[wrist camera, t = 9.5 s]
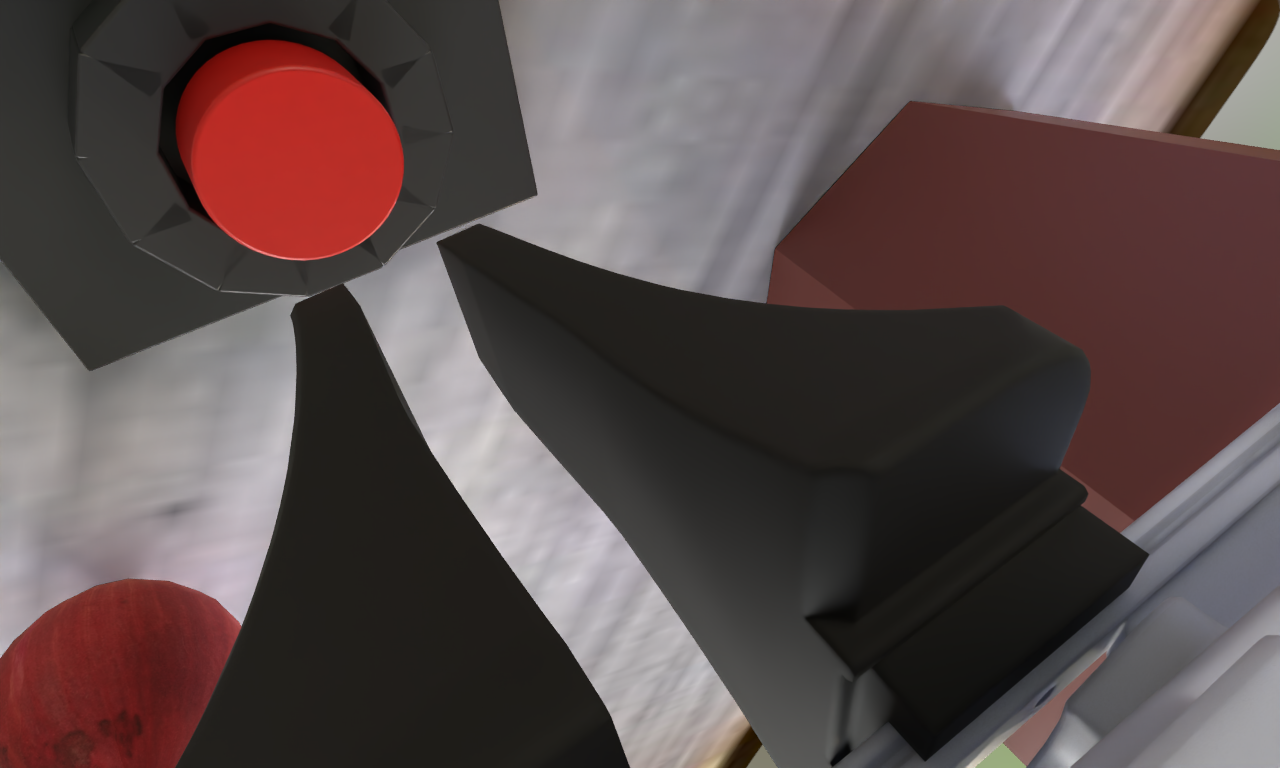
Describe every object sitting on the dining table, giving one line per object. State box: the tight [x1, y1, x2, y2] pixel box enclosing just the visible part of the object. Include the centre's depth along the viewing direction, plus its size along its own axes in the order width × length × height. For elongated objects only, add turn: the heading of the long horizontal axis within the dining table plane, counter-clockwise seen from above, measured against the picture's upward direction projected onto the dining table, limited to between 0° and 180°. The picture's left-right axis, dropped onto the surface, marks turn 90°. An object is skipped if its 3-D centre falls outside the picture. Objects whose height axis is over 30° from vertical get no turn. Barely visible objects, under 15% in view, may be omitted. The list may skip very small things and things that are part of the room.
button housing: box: [0, 0, 538, 371], centre depth 16 cm, size 11×8×4 cm
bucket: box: [767, 101, 1280, 766], centre depth 28 cm, size 24×22×25 cm
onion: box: [0, 579, 241, 768], centre depth 20 cm, size 6×6×8 cm
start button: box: [176, 40, 404, 260], centre depth 14 cm, size 4×4×2 cm
